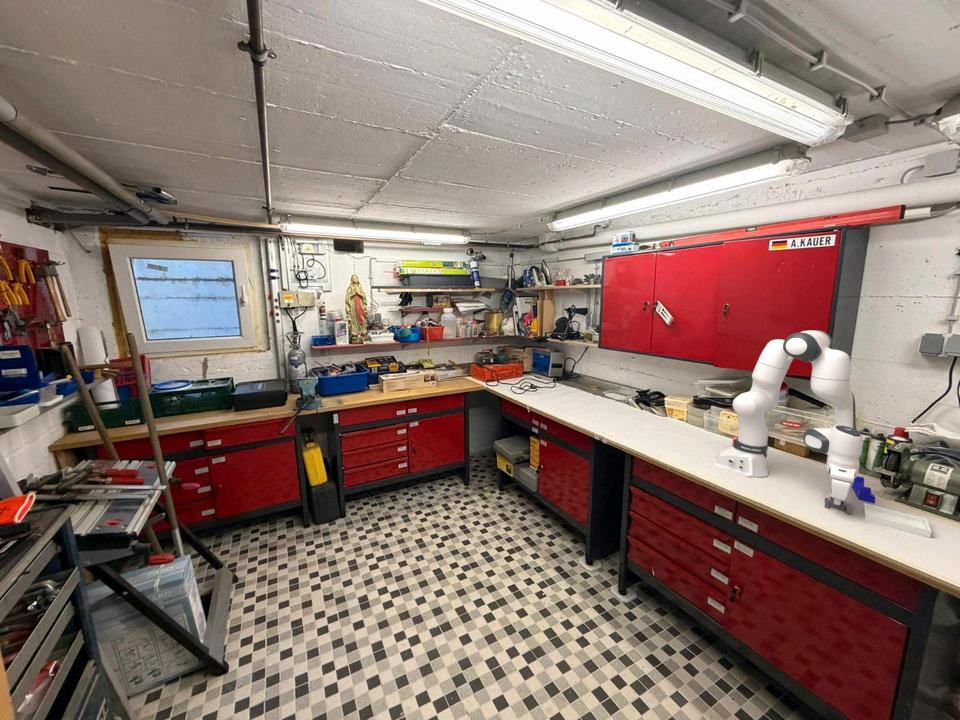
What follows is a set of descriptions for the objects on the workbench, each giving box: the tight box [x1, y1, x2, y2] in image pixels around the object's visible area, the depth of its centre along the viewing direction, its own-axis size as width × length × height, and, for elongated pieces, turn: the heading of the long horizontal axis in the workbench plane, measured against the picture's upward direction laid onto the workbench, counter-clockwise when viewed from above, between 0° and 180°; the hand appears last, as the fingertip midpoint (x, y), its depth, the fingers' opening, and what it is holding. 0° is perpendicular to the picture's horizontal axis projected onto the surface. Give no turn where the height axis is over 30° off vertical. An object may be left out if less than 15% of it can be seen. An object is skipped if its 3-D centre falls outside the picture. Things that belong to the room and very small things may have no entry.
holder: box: [824, 497, 853, 516], centre depth 142 cm, size 7×8×2 cm
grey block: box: [829, 486, 846, 512], centre depth 142 cm, size 4×4×7 cm
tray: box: [862, 502, 932, 539], centre depth 133 cm, size 16×10×2 cm, turn 46°
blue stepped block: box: [851, 475, 876, 505], centre depth 151 cm, size 12×4×6 cm, turn 144°
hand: (836, 501), depth 142 cm, fingers closed on grey block, 4 cm apart
